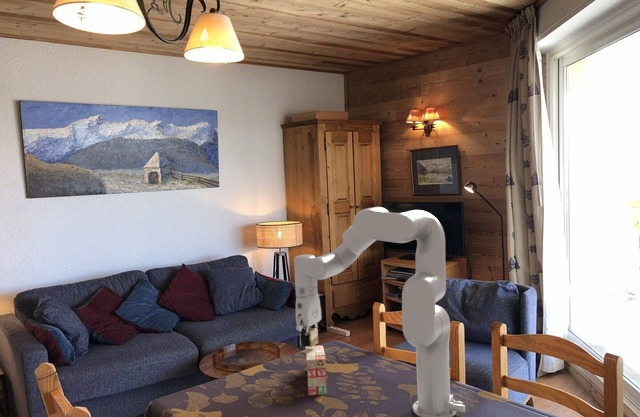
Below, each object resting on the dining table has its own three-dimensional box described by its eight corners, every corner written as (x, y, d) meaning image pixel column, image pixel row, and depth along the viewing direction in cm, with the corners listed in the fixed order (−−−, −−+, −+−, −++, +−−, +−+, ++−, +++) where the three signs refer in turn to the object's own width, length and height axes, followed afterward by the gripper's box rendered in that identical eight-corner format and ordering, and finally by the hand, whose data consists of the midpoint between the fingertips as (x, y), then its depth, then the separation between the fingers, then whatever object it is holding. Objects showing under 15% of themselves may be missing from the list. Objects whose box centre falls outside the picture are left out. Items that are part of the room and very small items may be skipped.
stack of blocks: (306, 371, 186) (305, 338, 185) (323, 369, 186) (322, 337, 185) (308, 396, 164) (306, 359, 164) (327, 394, 165) (325, 358, 164)
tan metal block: (318, 342, 174) (317, 328, 174) (311, 347, 170) (310, 332, 170) (307, 341, 176) (306, 327, 176) (300, 345, 172) (299, 331, 172)
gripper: (303, 297, 163) (306, 353, 164) (328, 286, 177) (330, 337, 178) (283, 296, 166) (286, 350, 167) (309, 285, 181) (312, 334, 182)
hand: (309, 342), depth 173 cm, fingers closed on tan metal block, 4 cm apart
